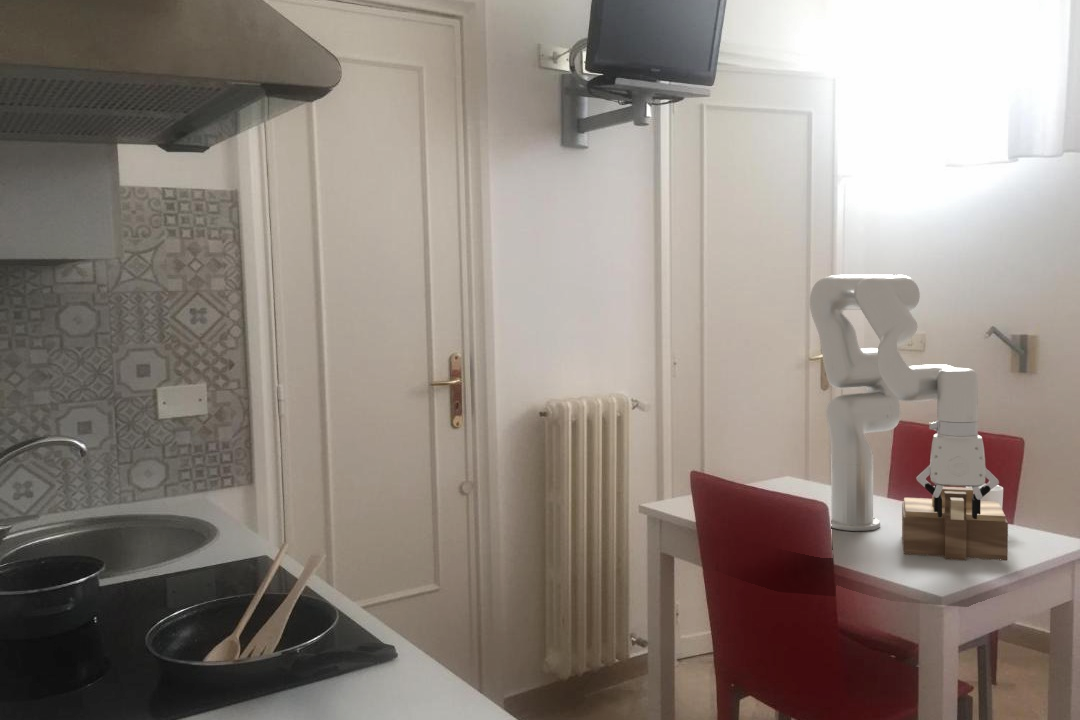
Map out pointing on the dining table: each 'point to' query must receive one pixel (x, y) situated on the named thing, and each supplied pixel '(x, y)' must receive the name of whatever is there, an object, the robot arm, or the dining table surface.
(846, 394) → the robot arm
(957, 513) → the wooden key
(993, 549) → the toolbox
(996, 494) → the white cup
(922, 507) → the lid
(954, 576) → the dining table surface
